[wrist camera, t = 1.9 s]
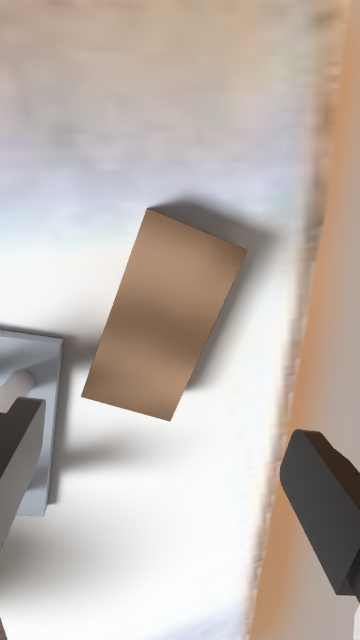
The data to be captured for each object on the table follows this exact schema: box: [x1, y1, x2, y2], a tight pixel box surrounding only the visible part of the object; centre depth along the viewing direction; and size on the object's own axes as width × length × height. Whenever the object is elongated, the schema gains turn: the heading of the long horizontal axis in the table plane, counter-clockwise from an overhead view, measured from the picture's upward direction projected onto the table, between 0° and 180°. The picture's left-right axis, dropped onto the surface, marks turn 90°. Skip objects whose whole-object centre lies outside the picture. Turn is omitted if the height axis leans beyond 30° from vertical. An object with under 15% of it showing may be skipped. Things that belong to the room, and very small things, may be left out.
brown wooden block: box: [81, 208, 247, 421], centre depth 21 cm, size 12×6×4 cm, turn 158°
